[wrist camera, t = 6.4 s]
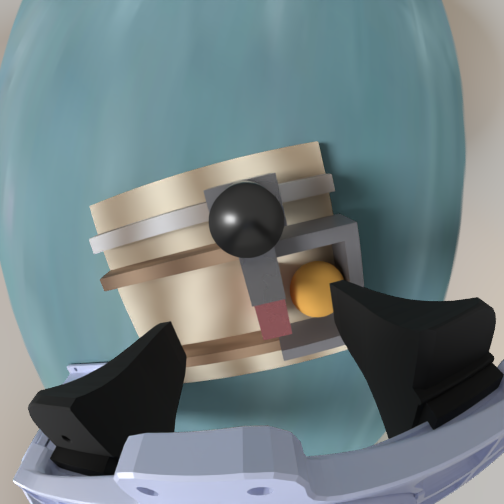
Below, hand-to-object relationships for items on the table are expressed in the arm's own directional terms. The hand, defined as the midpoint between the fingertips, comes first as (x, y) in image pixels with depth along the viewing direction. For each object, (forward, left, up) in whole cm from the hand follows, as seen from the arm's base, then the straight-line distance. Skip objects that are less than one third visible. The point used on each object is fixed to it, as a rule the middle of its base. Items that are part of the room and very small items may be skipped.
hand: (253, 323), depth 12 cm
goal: (+4, -3, -9) cm, 10 cm away
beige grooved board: (-2, -2, -10) cm, 10 cm away
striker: (+1, +1, -9) cm, 9 cm away
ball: (+4, -3, -7) cm, 9 cm away
